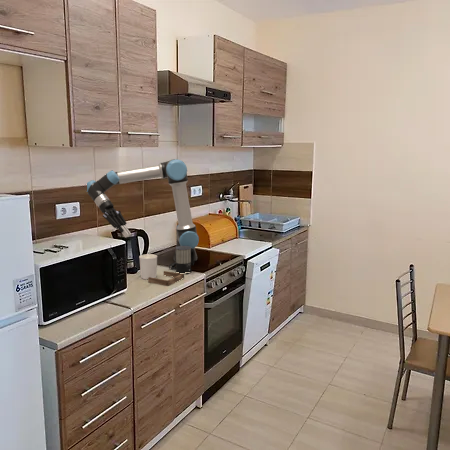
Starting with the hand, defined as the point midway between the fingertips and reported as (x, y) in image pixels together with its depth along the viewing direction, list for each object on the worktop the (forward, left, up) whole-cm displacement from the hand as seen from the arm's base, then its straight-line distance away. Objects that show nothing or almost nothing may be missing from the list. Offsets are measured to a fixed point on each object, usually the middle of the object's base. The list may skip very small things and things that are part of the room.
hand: (128, 235), depth 241 cm
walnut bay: (0, +25, -22) cm, 33 cm away
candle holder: (0, +14, -22) cm, 26 cm away
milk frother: (-20, +21, -22) cm, 37 cm away
